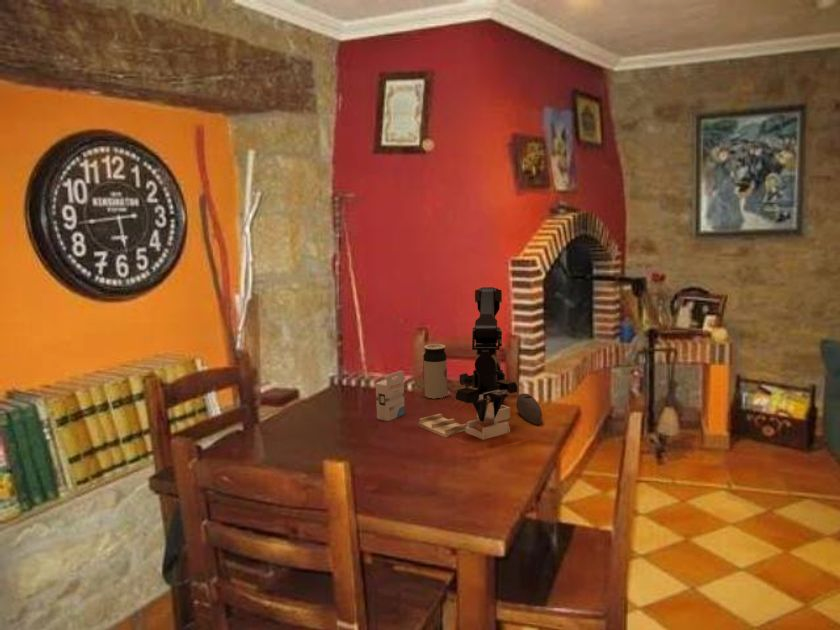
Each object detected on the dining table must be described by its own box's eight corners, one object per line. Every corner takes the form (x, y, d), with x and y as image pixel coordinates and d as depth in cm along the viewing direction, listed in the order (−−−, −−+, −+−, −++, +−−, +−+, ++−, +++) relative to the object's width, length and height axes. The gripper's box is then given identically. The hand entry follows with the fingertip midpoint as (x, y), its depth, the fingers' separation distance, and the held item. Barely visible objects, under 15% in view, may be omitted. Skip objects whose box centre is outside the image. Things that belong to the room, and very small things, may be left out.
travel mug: (420, 397, 228) (419, 347, 225) (431, 392, 235) (429, 343, 232) (441, 400, 224) (440, 349, 221) (451, 394, 231) (449, 344, 228)
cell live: (488, 421, 191) (487, 396, 189) (497, 425, 187) (497, 399, 186) (477, 424, 188) (477, 399, 187) (486, 428, 185) (486, 402, 184)
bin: (494, 414, 206) (494, 402, 205) (510, 420, 200) (510, 407, 200) (477, 419, 202) (476, 406, 201) (492, 424, 196) (492, 411, 196)
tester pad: (488, 428, 191) (488, 421, 191) (499, 432, 187) (499, 425, 187) (476, 431, 189) (475, 424, 188) (486, 436, 185) (486, 428, 184)
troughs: (442, 420, 202) (441, 413, 202) (469, 431, 191) (469, 423, 191) (418, 425, 197) (418, 418, 197) (445, 437, 186) (444, 430, 186)
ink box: (393, 412, 212) (391, 367, 210) (405, 414, 209) (403, 369, 207) (376, 419, 205) (374, 373, 203) (388, 421, 202) (386, 375, 200)
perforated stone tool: (547, 427, 192) (547, 405, 191) (530, 429, 191) (530, 406, 190) (531, 413, 207) (531, 391, 206) (515, 414, 206) (515, 392, 205)
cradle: (491, 426, 194) (491, 415, 194) (510, 433, 188) (509, 422, 187) (465, 433, 189) (465, 422, 188) (483, 441, 182) (483, 429, 182)
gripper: (493, 357, 197) (493, 407, 199) (443, 367, 187) (444, 419, 189) (518, 363, 188) (518, 415, 190) (467, 374, 178) (468, 429, 180)
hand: (487, 419), depth 188 cm, fingers closed on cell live, 4 cm apart
